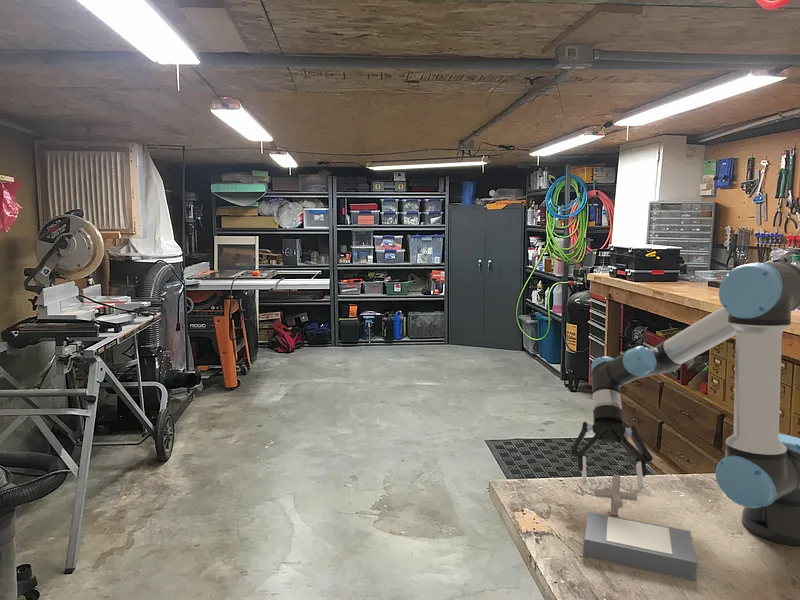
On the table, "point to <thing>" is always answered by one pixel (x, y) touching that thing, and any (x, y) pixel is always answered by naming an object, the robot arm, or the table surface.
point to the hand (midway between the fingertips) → (612, 485)
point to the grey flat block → (640, 545)
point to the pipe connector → (615, 495)
